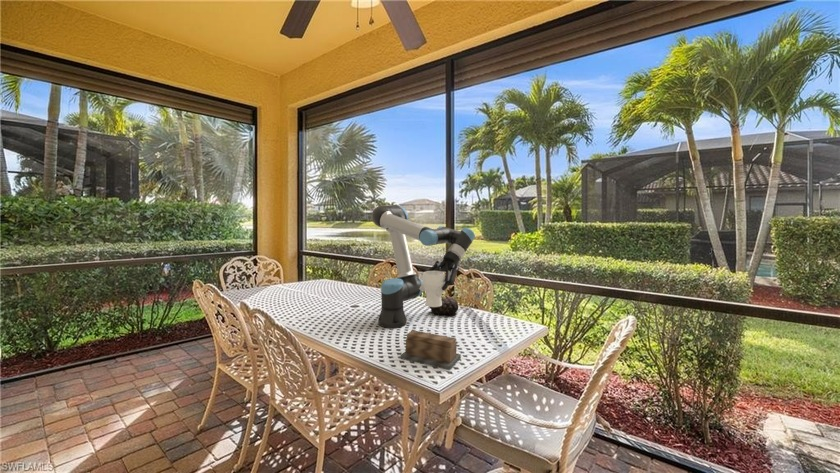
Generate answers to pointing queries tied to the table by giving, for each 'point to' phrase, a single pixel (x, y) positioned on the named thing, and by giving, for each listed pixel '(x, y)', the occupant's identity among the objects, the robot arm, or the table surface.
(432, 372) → the table surface
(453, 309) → the pine cone
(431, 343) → the brown wooden block
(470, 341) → the table surface
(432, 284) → the cup
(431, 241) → the robot arm
